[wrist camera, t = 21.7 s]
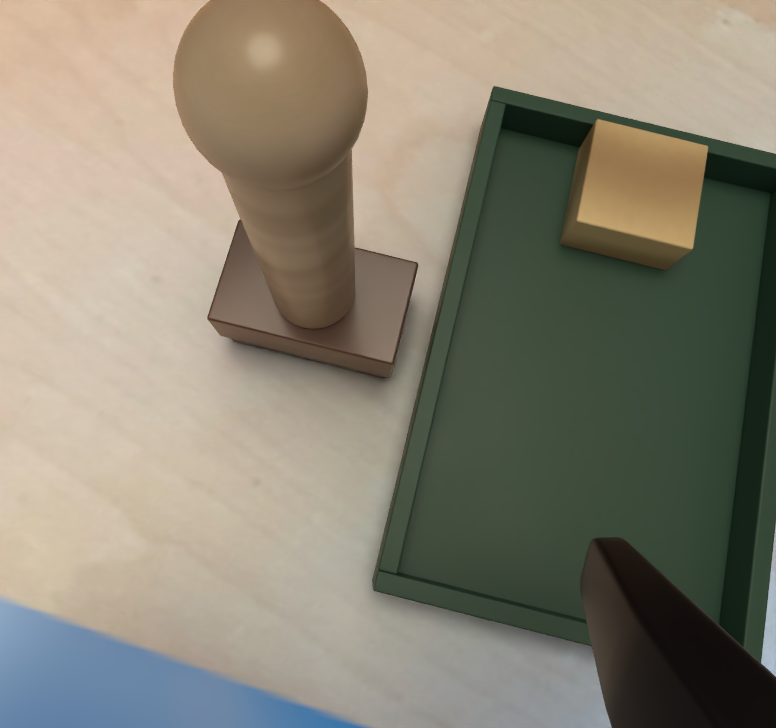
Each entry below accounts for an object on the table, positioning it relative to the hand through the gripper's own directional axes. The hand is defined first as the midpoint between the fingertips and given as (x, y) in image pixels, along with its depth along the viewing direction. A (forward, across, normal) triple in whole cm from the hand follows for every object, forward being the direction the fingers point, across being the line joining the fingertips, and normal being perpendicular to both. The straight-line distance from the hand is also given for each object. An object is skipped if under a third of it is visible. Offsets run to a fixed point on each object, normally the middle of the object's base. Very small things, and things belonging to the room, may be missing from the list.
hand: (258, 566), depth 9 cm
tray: (+14, -10, +6) cm, 18 cm away
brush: (+15, 0, +4) cm, 16 cm away
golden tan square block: (+17, -11, +1) cm, 20 cm away
